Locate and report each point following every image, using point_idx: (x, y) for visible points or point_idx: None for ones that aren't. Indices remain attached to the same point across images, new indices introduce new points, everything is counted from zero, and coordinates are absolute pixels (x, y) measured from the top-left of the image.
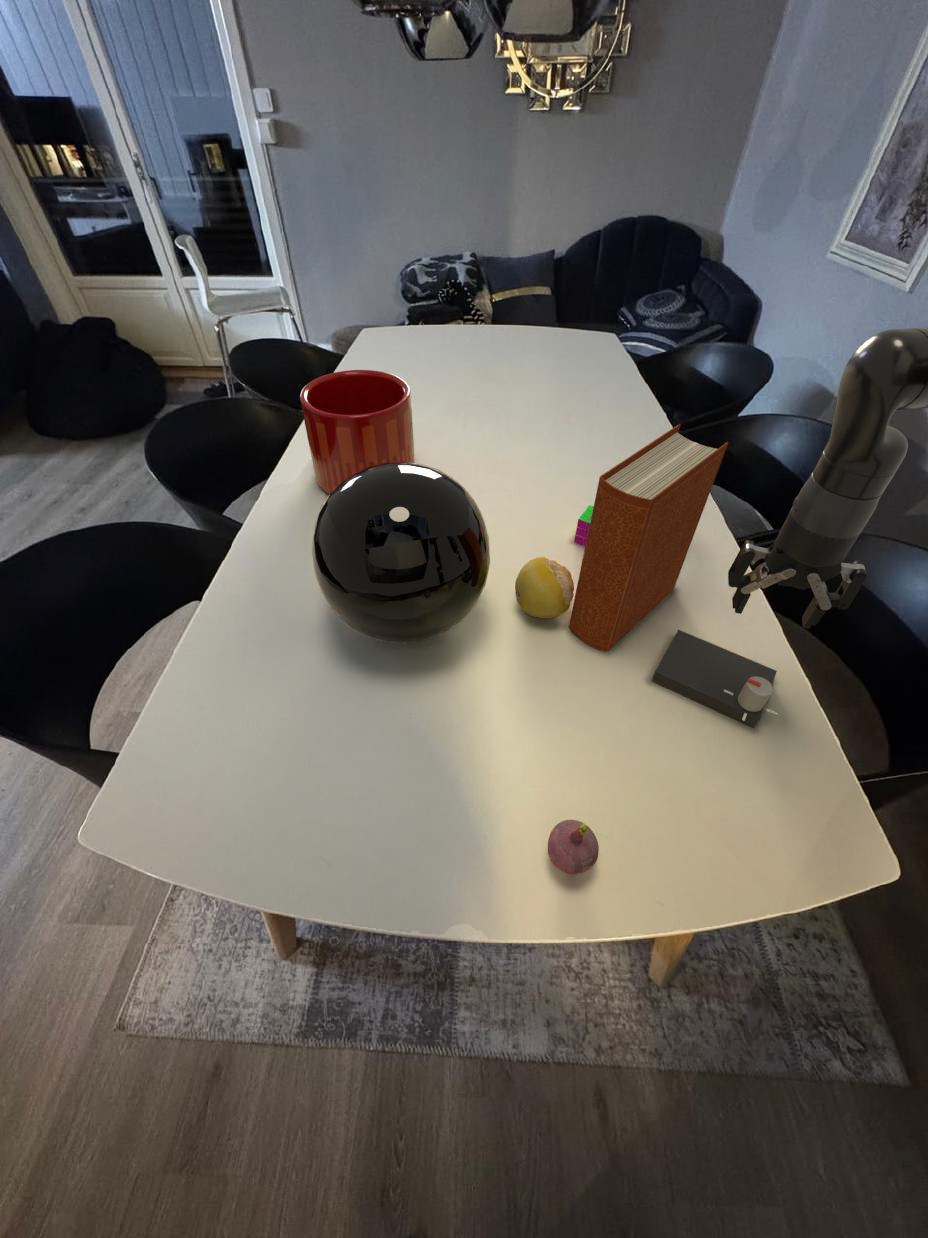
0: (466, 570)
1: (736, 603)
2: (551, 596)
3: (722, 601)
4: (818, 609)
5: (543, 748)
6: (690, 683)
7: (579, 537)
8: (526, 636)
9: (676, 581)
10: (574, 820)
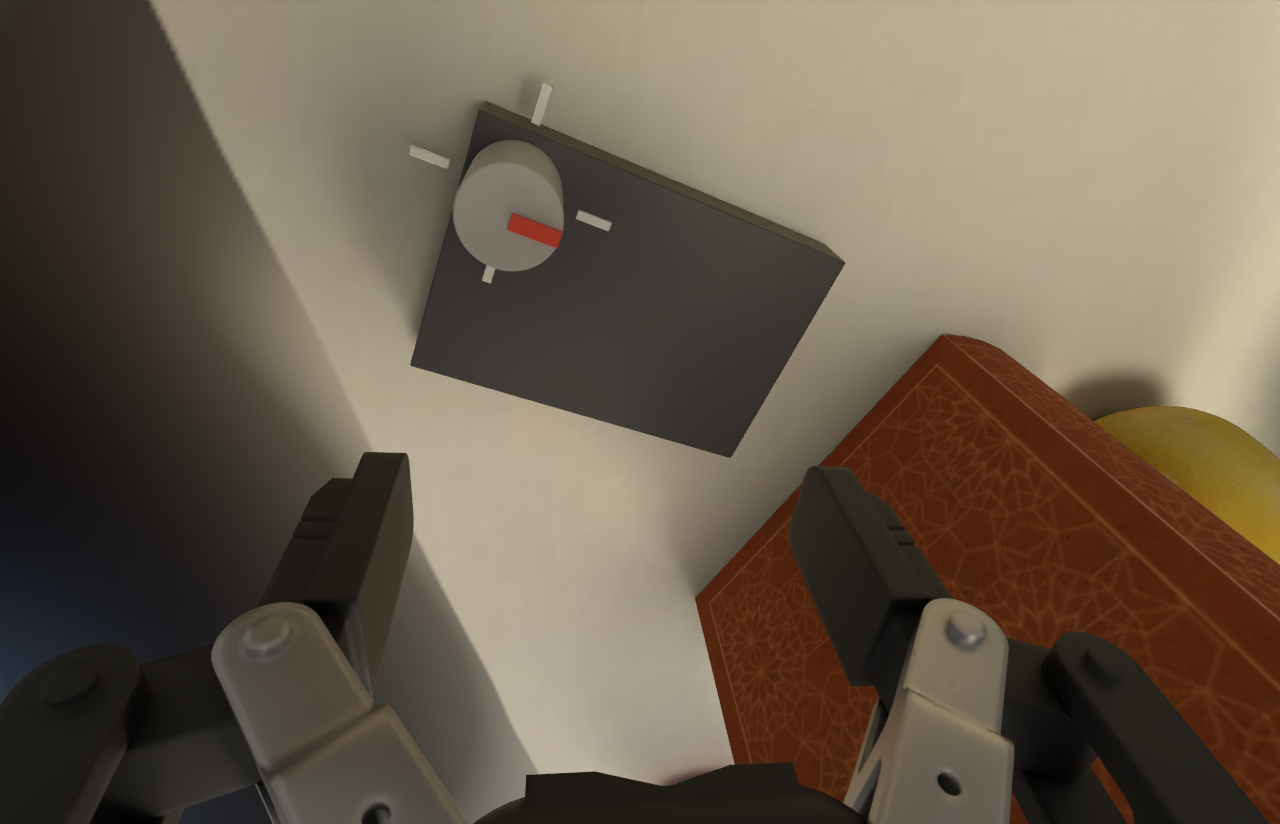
0: None
1: (885, 523)
2: (1223, 463)
3: (558, 593)
4: (331, 596)
5: None
6: (729, 233)
7: None
8: (1178, 336)
9: (701, 623)
10: None
